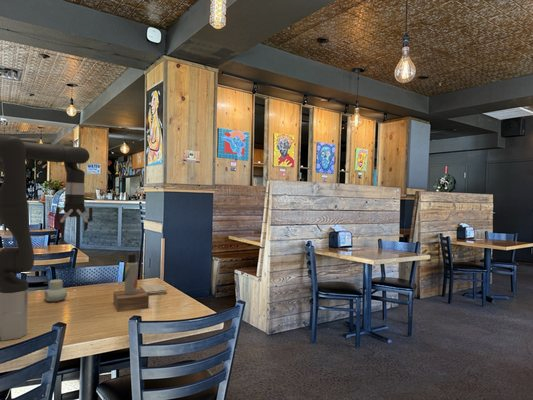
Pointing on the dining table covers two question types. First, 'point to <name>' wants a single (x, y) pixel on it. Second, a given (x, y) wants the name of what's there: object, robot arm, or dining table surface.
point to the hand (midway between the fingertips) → (73, 231)
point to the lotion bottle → (131, 275)
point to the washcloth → (154, 289)
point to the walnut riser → (130, 301)
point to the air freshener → (55, 291)
